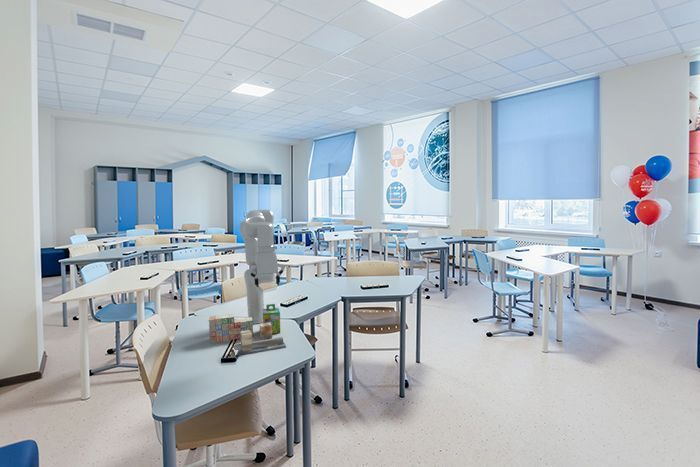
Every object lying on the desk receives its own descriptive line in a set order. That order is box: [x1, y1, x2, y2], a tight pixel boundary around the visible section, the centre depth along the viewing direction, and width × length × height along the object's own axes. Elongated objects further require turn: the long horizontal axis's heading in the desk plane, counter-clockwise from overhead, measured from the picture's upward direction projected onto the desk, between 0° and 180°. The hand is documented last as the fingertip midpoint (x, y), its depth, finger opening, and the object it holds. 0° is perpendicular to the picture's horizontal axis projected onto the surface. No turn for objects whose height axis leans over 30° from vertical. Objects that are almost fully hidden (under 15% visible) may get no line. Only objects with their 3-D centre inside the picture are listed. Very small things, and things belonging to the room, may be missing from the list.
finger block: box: [259, 322, 273, 341], centre depth 193 cm, size 5×5×8 cm
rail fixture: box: [233, 330, 287, 357], centre depth 182 cm, size 9×24×9 cm, turn 112°
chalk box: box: [262, 303, 281, 335], centre depth 205 cm, size 9×9×15 cm
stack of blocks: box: [208, 313, 254, 344], centre depth 196 cm, size 21×6×12 cm, turn 106°
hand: (267, 285), depth 179 cm, fingers open, 9 cm apart
